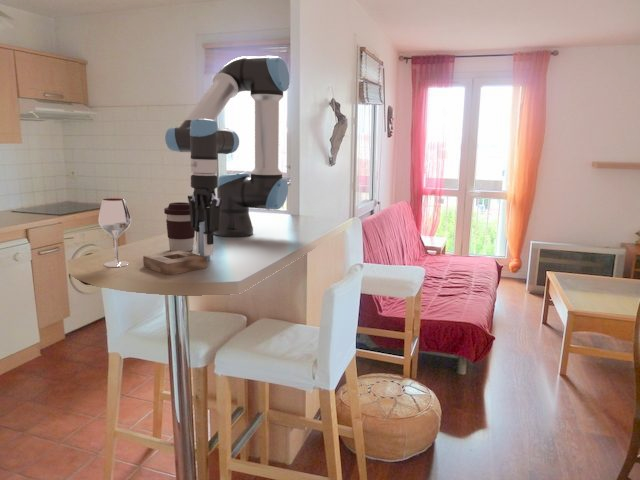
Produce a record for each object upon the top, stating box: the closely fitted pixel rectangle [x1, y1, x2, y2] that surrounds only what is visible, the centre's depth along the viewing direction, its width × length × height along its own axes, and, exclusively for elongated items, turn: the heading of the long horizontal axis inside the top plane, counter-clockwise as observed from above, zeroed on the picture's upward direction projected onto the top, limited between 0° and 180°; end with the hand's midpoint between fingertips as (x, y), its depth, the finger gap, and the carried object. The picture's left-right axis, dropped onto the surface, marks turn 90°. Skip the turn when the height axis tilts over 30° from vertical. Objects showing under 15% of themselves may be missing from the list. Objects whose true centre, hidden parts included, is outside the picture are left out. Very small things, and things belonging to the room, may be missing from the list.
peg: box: [199, 221, 211, 261], centre depth 142 cm, size 3×3×11 cm
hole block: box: [142, 250, 208, 276], centre depth 132 cm, size 12×12×3 cm
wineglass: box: [98, 197, 132, 268], centre depth 131 cm, size 8×8×18 cm
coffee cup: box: [163, 201, 196, 252], centre depth 153 cm, size 10×10×15 cm
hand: (204, 253), depth 143 cm, fingers closed on peg, 3 cm apart
